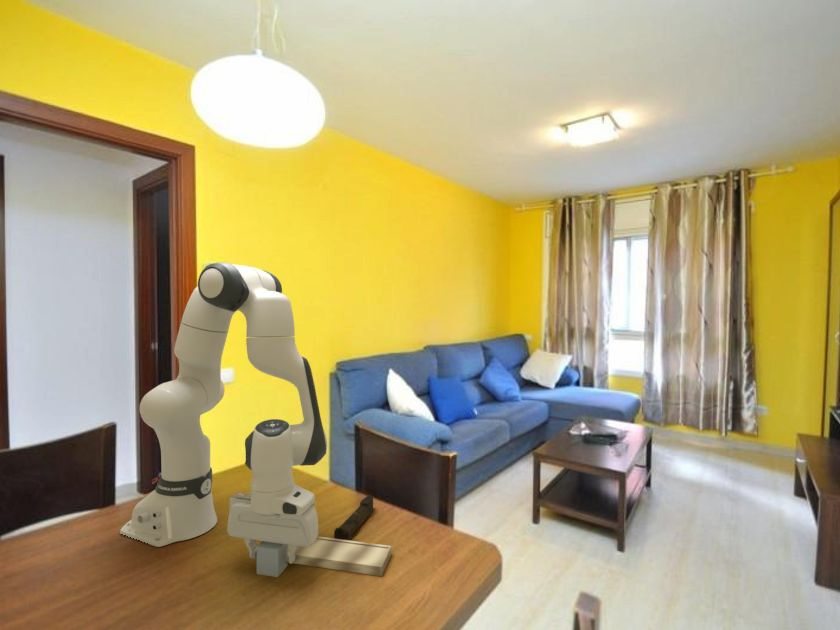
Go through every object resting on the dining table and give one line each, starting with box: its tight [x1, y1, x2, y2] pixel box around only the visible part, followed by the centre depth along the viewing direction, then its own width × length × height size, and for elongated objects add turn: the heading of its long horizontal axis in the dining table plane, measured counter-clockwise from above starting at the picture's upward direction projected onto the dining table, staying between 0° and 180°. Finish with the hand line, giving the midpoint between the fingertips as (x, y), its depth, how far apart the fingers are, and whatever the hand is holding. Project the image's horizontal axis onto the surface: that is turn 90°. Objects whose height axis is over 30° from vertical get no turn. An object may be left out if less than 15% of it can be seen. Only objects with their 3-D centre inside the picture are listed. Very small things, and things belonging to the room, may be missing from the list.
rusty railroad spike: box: [333, 494, 374, 541], centre depth 111 cm, size 19×4×5 cm, turn 160°
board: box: [287, 535, 393, 577], centre depth 97 cm, size 28×8×2 cm, turn 79°
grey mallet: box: [256, 541, 288, 578], centre depth 96 cm, size 5×12×6 cm, turn 168°
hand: (272, 559), depth 92 cm, fingers open, 7 cm apart
